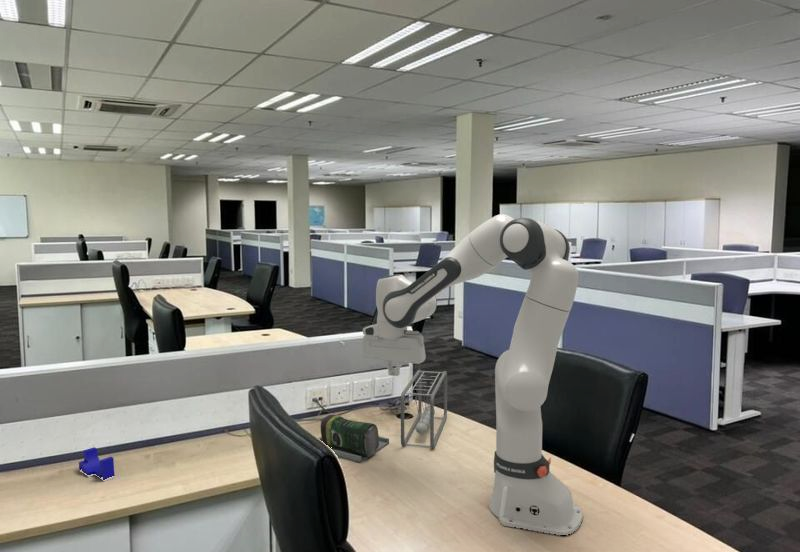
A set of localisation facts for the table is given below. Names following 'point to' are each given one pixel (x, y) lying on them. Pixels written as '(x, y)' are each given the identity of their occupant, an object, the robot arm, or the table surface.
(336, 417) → the coffee jar
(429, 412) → the newton's cradle
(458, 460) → the table surface
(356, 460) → the shallow gray tray
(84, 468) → the cable clip
